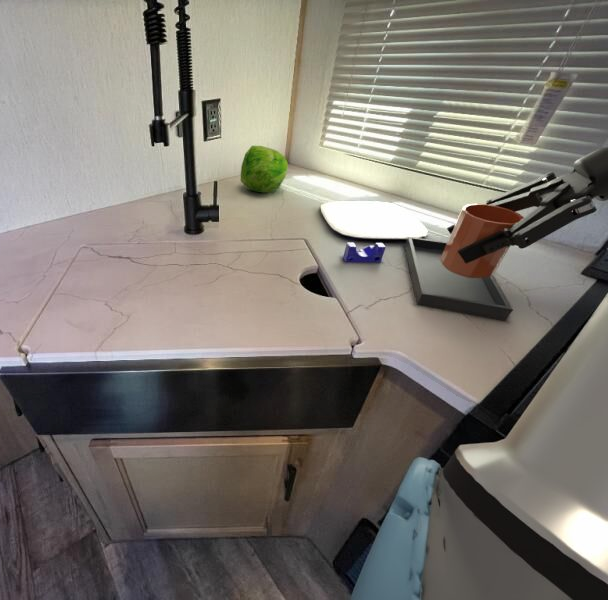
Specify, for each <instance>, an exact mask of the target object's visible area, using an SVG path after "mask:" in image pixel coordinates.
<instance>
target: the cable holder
mask: <svg viewBox="0 0 608 600" xmlns="http://www.w3.org/2000/svg"><path fill="white" fill-rule="evenodd" d="M385 250H386V246H385V244H384V243H383V242H375V244H374V245H368V246H367V247H364V248H359V250H358V251H357V245H356V244H355V242H346V245H345V250H344V253H343V256H342V259H343V260H344V262H345V263H378V264H379V263H382V259H383V257H384V254H385Z"/></svg>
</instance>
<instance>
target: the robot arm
mask: <svg viewBox="0 0 608 600" xmlns="http://www.w3.org/2000/svg"><path fill="white" fill-rule="evenodd" d="M593 199H595V200H597V201H599V202H606V201H608V147H607V146H605V147H604V146H603V147H600V148H598V149H596V150H594V151H592V152H590V153H588V154H586V155H584V156H582V157H580V158H579V159H577V160H575V161H574V163H573V169H572V172H568V173H567V174H563V175H561V176H556V174H555V172H554V171H549V172H547V173H545V174H543V175H541V176H540V177H538V178H536V179H534V180H532V181H529V182H527V183H525V184H522V185H520V186H518V187H515V188H513V189H510V190H508V191H505V192H504V193H501V194H498V195H497V196H494V197H492V198H489V199H488V200H486V201H485V204H487V205H493V206H499V207H502V208H506V209H509V210H512V211H514V212H520V211H523V210H526V209H531V208H534V207H535V209H534V210H532V211H531V212H530V213H528V214H527V215H526V216H523V217H524V218H523V219H522V220H520V221H519V222H518V223H516V224H515V225H514V226H512V227H511V228H510V229H504V228H503V229H502V232H503V233H502V232H501V231H498V232H496V233H494V234H492V235H490V236H488V237H486V238H483V239H481V240H479V241H477V242H475V243H473V244H471V245H468V246H466V247H464V248H462V249H460V250H458V253H459V254H460V256H461V257H462V259H463V260H464V262H465V263H466V264H467V263H469V262H471V261H473V260H476V259H478V258H480V257H483V256H485V255H487V254H490V253H493V252H495V251H497V250H499V249H502V248H504V247H506V246H509V245H511V246H510V247H513V246H514V247H515V246H517V247H518V249H520V250H522V249H525V248H527V247H530V246H531V245H533V244H535V243H537V242H538V241H541V240H542V239H544V238H546V237H547V236H549V235H551V234H553V233H555V232H556V231H558V230H560V229H563V228H564V227H566V226H567V225H569V224H571V223H573V222H574V221H576V220H579V219H581V218H584V217H587V216H589V215H591V214H593V213H595V212H597V211H598V209H597V207H596V205H595V203H594V201H593ZM454 226H455V223H454V224H451V225H450V226H448V227H447V228H446V230H447V231H448V233H449V235H451V232H452V230H453V228H454ZM503 234H504V235H503ZM349 600H608V292H607V293H606V295H605V296H604V298H603V299H602V300H601V302H600V303H599V305H598V306H597V308H596V309H595V310H594V312H593V313H592V315H591V316H590V318H589V319H588V320H587V322H586V323H585V324H584V326H583V327H582V329H581V330H580V331H579V333H578V334H577V336H576V337H575V339H574V340H573V342H572V343H571V344H570V346H569V347H568V349H567V350H566V351H565V353H564V354H563V356H562V357H561V358H560V360H559V362H558V363H557V364H556V366H555V367H554V369H553V370H552V371H551V373H550V374H549V376H548V377H547V379H545V382H544V383H543V384H542V386H541V387H540V389H539V390H538V391H537V393H536V394H535V396H534V397H533V398H532V400H531V401H530V403H529V404H528V406H527V407H526V409H525V410H524V411H523V413H522V414H521V416H520V417H519V418H518V420H517V421H516V422H515V424H514V425H513V427H512V429H511V430H510V432H508V434H507V435H506V437H505V438H504V439H503V438H502V439H500V440H497V441H494V442H480V443H467V444H460V445H458V447H457V448H456V449H455V450H454V452H453V454H452V455H451V457H450V458H449V459H448V461H447V463H446V464H445V465H444V467H441V464H440V463H438V462H437V461H436V460H434V459H428V458H425V457H423V456H422V457H421V456H419V457H416V458H415V459H414V460H413V461H412V463H411V464H410V466H409V468H408V469H407V472H406V473H405V475H404V477H403V479H402V481H401V483H400V485H399V487H398V490H397V492H396V495H395V497H394V499H393V501H392V503H391V505H390V507H389V509H388V512H387V513H386V515H385V517H384V519H383V522H382V523H381V526H380V528H379V530H378V532H377V534H376V537H375V539H374V541H373V543H372V545H371V547H370V550H369V551H368V554H367V557H366V559H365V562H364V563H363V566H362V568H361V571H360V573H359V575H358V578H357V580H356V583H355V585H354V588H353V591H352V593H351V596H350V599H349Z"/></svg>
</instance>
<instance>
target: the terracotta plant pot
mask: <svg viewBox="0 0 608 600" xmlns="http://www.w3.org/2000/svg"><path fill="white" fill-rule="evenodd" d="M524 217H525V216H523V215H522V214H520V213H519V212H518V211H516V212H514V211H512V210H509V209H506V208H502V207H499V206H493V205H487V204H486V203H468V204H466V205H463V206H462V208H461V211H460V212H459V215H458V216H457V219H456V222H455V223H454V224H455V226H454V228H453V230H452V232H451V234H449V237H448V239H447V241H446V242H447V243H446V246H445V248H444V250H443V252H442V255H441V257H440V261H441V263H442V264H443V266H444V267H445V268H446V269H448V270H449V271H451V272H453V273H455V274H458V275H461V276H464V277H469V278H484V277H490V276H492V275H493V276H494V275H495V274H496V272H497V270H498V268H499V267H500V265H501V263H502V261H503V259H504V258H505V257H506V255H507V253H508V251H509V250H510V247H512V246H511V245H509V246H506V247H504V248H502V249H499V250H497V251H495V252H493V253H490V254H487V255H485V256H483V257H480V258H478V259H476V260H473V261H471V262H469V263H467V264H466V263H465V262H464V260H463V259H462V257H461V256H460V254H459V253H458V250H460V249H462V248H464V247H466V246H468V245H471V244H473V243H475V242H477V241H479V240H481V239H483V238H486V237H488V236H490V235H492V234H494V233H496V232H498V231H501V232H502V229H503V228H504V229H510V228H511V227H512V226H514V225H515V224H516V223H518V222H519V221H520V220H522V219H523V218H524ZM502 233H503V232H502ZM503 235H504V234H503Z"/></svg>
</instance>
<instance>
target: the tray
mask: <svg viewBox="0 0 608 600" xmlns="http://www.w3.org/2000/svg"><path fill="white" fill-rule="evenodd" d="M446 243H447V241H443V240H436V239H435V240H434V239H429V238H414V237H408V238H407V239H406V241H405V244H404V250H405V255H406V259H407V263H408V264H407V265H408V269H409V273H410V274H409V275H410V278H411V282H412V287H413V292H414V297H415V300H416V305H417V306H421V307H427V308H432V309H433V308H434V309H439V310H443V311H444V310H445V311H450V312H455V313H461V314H466V315H471V316H477V317H482V318H488V319H494V320H499V321H504V322H505V321H507V320H508V318H509V317H510V315H511V314H512V312H513V311H514V309H513V307H512V305H511V304H510V301H509V300H508V297H507V296H506V294H505V293H504V291H503V290H502V288H501V286H500V284H499V283H498V281H497V279H496V277H495V276H494V274H493V275H492V276H490V277H484V278H469V277H464V276H461V275H458V274H455V273H453V272H451V271H449V270H448V269H446V268H445V267H444V266H443V264H442V263H441V261H440V257H441V255H442V252H443V250H444V248H445V246H446Z"/></svg>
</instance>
